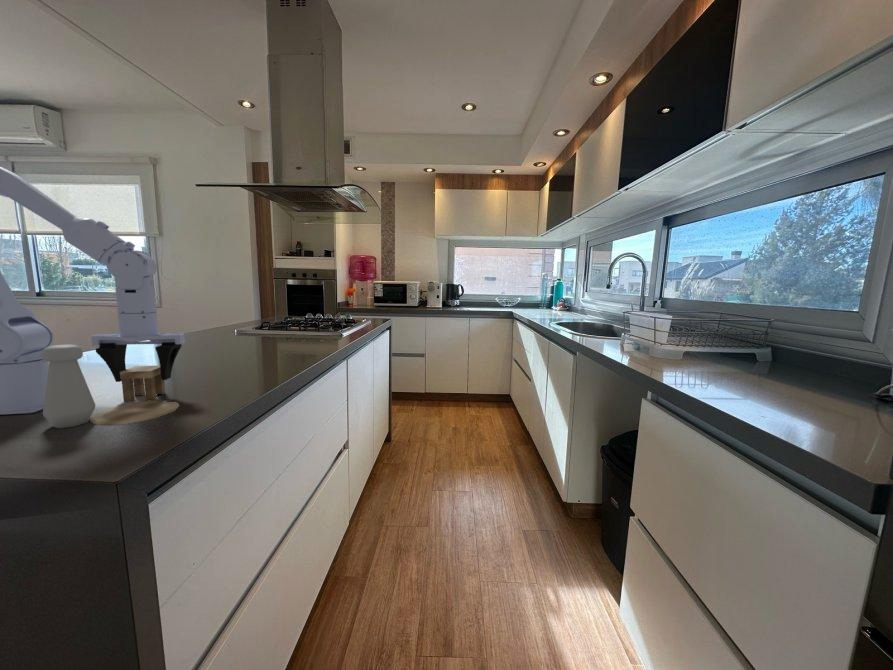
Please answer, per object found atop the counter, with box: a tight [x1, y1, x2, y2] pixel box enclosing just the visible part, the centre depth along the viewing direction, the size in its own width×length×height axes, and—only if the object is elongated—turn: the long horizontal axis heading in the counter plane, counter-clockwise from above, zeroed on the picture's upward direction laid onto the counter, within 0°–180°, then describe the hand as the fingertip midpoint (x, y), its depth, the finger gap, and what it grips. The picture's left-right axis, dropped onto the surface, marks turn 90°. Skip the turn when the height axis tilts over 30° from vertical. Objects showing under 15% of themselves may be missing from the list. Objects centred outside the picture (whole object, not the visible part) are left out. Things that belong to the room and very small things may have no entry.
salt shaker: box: [42, 343, 96, 429], centre depth 56 cm, size 6×6×13 cm
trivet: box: [89, 400, 180, 426], centre depth 62 cm, size 12×12×1 cm
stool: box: [120, 365, 166, 403], centre depth 70 cm, size 5×5×6 cm
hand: (144, 379), depth 70 cm, fingers open, 7 cm apart
